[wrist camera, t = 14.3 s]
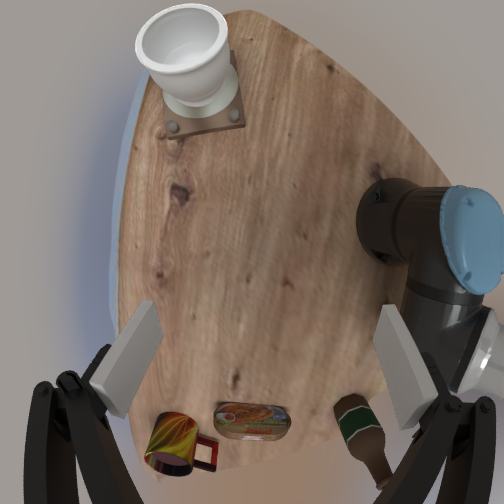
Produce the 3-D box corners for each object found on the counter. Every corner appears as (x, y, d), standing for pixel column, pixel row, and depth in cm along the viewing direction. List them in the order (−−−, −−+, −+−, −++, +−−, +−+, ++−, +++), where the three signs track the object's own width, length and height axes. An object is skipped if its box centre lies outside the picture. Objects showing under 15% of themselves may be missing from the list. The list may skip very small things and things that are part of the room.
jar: (162, 68, 34) (131, 20, 20) (224, 51, 34) (217, -6, 20) (172, 122, 36) (138, 85, 22) (239, 104, 36) (237, 56, 22)
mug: (219, 440, 51) (216, 480, 39) (161, 436, 50) (151, 472, 38) (215, 414, 49) (211, 456, 37) (152, 409, 48) (138, 447, 37)
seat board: (233, 55, 37) (232, 40, 32) (244, 127, 39) (245, 117, 34) (164, 68, 36) (156, 55, 32) (169, 140, 39) (161, 133, 34)
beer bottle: (327, 418, 50) (359, 501, 27) (338, 393, 49) (378, 479, 26) (358, 415, 51) (395, 490, 27) (369, 391, 50) (416, 468, 26)
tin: (288, 405, 49) (294, 433, 41) (285, 415, 50) (290, 443, 41) (215, 399, 48) (212, 428, 40) (214, 409, 49) (210, 438, 40)
